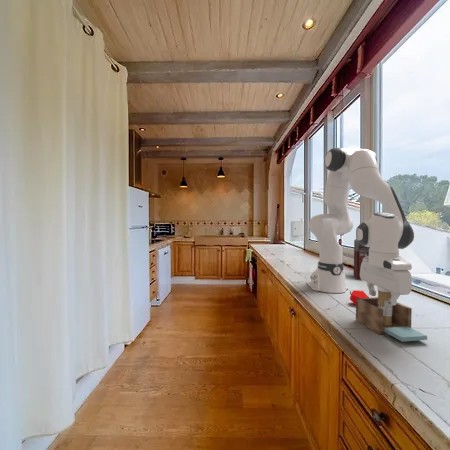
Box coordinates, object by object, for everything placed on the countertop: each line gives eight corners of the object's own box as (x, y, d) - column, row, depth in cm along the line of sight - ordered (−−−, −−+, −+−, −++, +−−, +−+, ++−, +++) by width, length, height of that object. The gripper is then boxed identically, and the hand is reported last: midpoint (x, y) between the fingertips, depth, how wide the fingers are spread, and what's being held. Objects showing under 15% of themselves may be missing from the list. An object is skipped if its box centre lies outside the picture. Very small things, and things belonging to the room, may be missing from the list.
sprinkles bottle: (374, 320, 92) (374, 283, 92) (387, 321, 92) (387, 283, 92) (381, 326, 88) (382, 286, 87) (395, 326, 88) (396, 286, 87)
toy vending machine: (356, 280, 154) (357, 232, 153) (353, 276, 165) (354, 231, 164) (373, 281, 151) (374, 233, 150) (369, 277, 162) (370, 232, 161)
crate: (355, 319, 96) (356, 298, 95) (384, 318, 97) (384, 296, 97) (379, 334, 84) (379, 310, 84) (411, 332, 85) (411, 308, 85)
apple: (372, 292, 112) (353, 283, 115) (371, 299, 107) (351, 290, 110) (365, 304, 115) (346, 296, 118) (364, 312, 109) (345, 303, 112)
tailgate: (384, 327, 84) (401, 337, 77) (407, 326, 85) (427, 335, 78) (384, 331, 84) (401, 341, 77) (407, 330, 85) (427, 339, 78)
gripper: (355, 255, 99) (354, 290, 100) (397, 266, 79) (396, 311, 80) (371, 254, 100) (369, 290, 101) (416, 265, 80) (414, 310, 81)
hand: (381, 299), depth 90 cm, fingers open, 8 cm apart
